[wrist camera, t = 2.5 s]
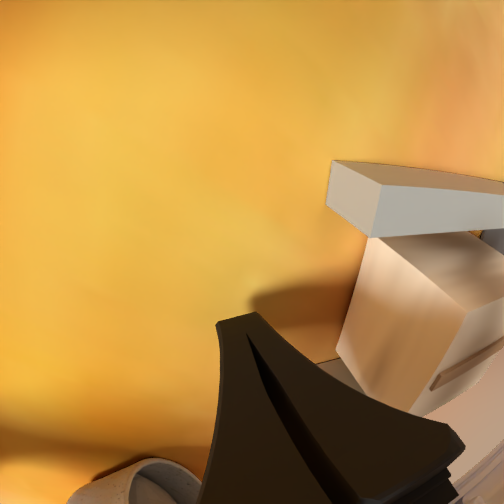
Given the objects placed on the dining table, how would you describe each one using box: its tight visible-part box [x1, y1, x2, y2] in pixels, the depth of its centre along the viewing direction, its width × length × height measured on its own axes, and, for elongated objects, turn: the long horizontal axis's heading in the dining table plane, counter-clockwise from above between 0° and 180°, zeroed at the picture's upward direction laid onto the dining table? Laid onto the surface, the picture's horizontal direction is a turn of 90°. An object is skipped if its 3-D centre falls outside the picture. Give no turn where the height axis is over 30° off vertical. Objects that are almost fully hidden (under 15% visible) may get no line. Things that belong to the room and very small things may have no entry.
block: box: [336, 231, 504, 417], centre depth 11 cm, size 6×6×5 cm
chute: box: [316, 160, 504, 396], centre depth 13 cm, size 13×11×3 cm
